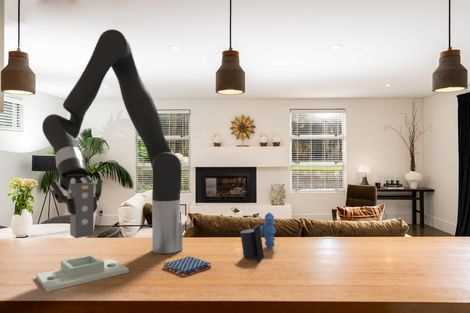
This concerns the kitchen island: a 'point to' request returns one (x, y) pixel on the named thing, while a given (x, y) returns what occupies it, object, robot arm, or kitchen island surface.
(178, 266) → the woven mat
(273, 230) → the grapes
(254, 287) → the kitchen island surface
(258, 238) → the speaker
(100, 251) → the kitchen island surface
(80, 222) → the tall grey pillar
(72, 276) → the bracket
